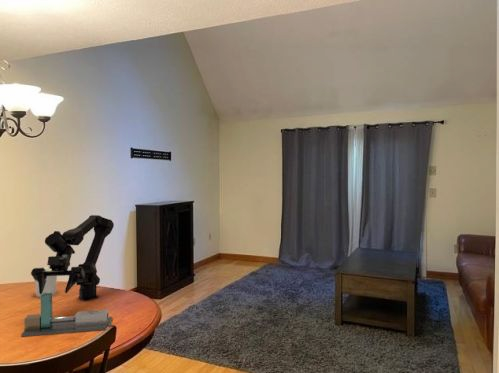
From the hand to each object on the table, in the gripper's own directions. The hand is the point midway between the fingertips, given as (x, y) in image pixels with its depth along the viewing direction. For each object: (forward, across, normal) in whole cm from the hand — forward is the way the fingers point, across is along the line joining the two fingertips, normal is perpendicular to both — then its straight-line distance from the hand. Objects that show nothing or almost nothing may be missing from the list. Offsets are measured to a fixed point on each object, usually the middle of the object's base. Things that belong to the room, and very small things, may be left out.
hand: (53, 293), depth 144 cm
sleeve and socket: (+12, +8, +4) cm, 15 cm away
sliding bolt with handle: (+11, +3, +3) cm, 12 cm away
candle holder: (-17, -16, +33) cm, 41 cm away
